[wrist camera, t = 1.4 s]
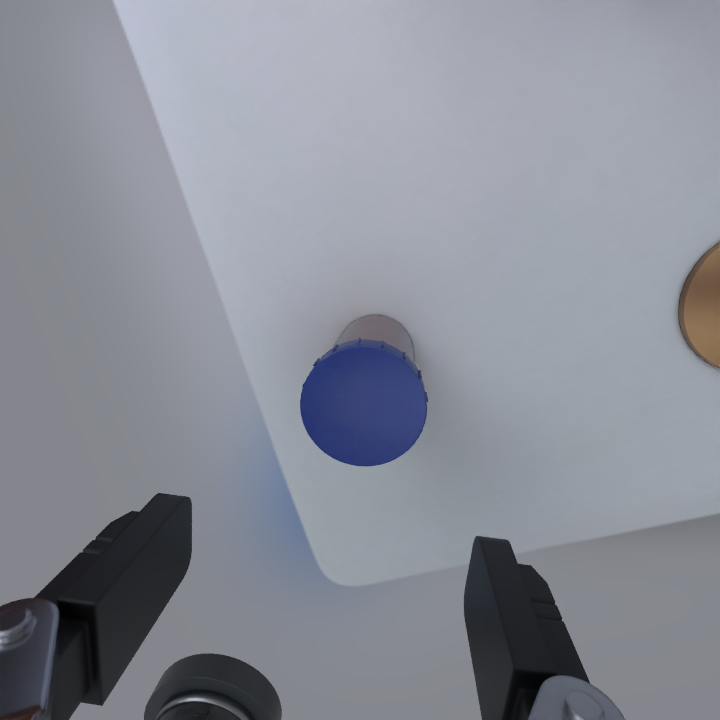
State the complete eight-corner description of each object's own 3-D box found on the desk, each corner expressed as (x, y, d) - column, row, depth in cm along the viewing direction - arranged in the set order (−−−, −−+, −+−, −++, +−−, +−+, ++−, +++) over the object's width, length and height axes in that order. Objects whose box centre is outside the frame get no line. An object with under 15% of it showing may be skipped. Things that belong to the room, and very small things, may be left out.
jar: (408, 393, 32) (412, 463, 22) (334, 384, 32) (304, 449, 22) (418, 318, 30) (427, 357, 20) (340, 310, 31) (311, 343, 21)
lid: (417, 458, 23) (418, 474, 21) (303, 443, 23) (295, 458, 22) (433, 345, 22) (436, 354, 20) (310, 331, 22) (303, 338, 20)
